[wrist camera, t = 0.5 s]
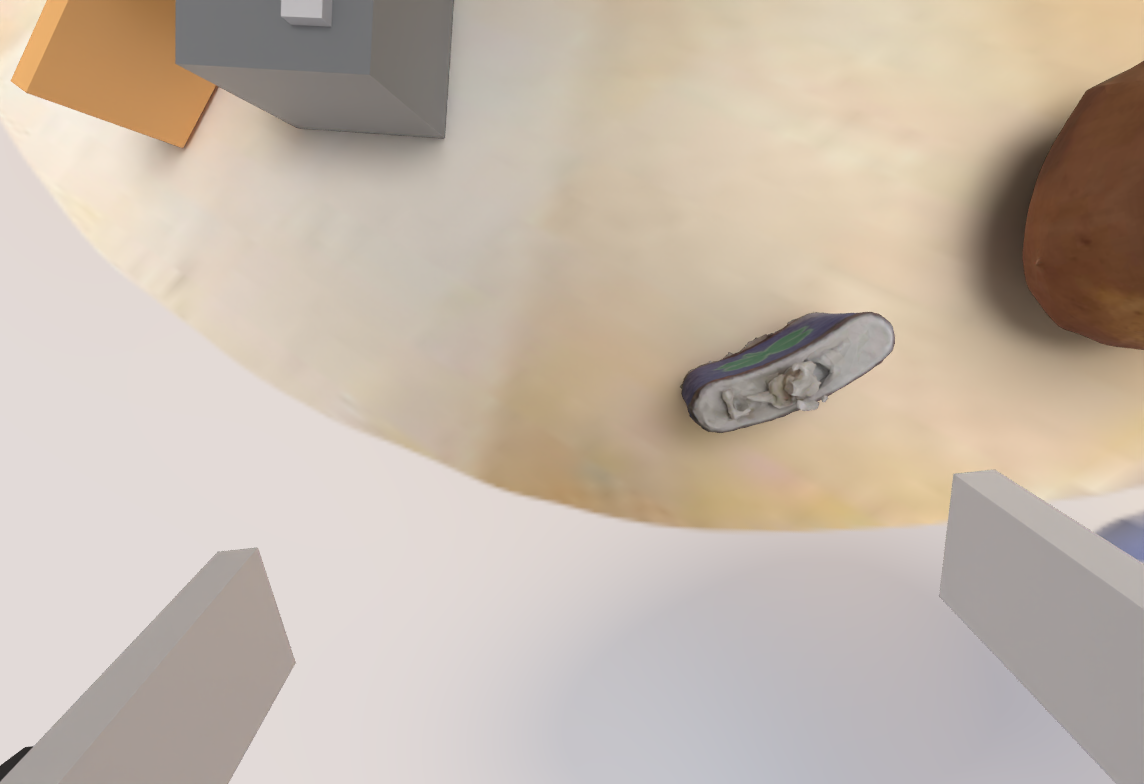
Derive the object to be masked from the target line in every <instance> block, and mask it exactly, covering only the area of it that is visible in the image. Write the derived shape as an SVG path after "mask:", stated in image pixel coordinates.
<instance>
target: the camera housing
mask: <svg viewBox="0 0 1144 784" xmlns="http://www.w3.org/2000/svg"><path fill="white" fill-rule="evenodd" d="M453 4H454V0H176V21H175V64H177V65H179V66H181V67H182V68H184V69H186V70H188V71H190V72H192V73H194V74H196V75H198V76H200V77H201V78H203V79H205V80H207V81H209V82H211V83H213V84H215V85H217V86H219V87H220V88H222V89H224V90H226V91H228V92H230V93H232V94H234V95H236V96H238V97H239V98H241V99H243V100H245V101H247V102H249V103H251V104H253V105H255V106H257V107H258V108H260V109H262V110H264V111H266V112H268V113H270V114H272V115H274V116H276V117H277V118H279V119H281V120H283V121H285V122H287V123H289V124H291V125H293V126H295V127H296V128H302V129H316V130H331V131H345V132H360V133H374V134H389V135H403V136H418V137H432V138H445V126H446V110H447V95H448V80H449V65H450V49H451V34H452V19H453Z"/></svg>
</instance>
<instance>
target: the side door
mask: <svg viewBox="0 0 1144 784" xmlns="http://www.w3.org/2000/svg"><path fill="white" fill-rule="evenodd" d="M175 21H176V0H47V2H46V4H45V6H44V8H43V10H42V13H41V15H40V17H39V19H38V22H37V24H36V26H35V28H34V30H33V33H32V35H31V37H30V39H29V41H28V44H27V46H26V48H25V50H24V53H23V55H22V57H21V59H20V61H19V64H18V66H17V68H16V70H15V72H14V75H13V77H12V79H11V82H13V83H14V84H15V85H17V86H18V87H19V88H21V89H22V90H23V91H25V92H26V93H29V94H32V95H34V96H37V97H40V98H43V99H46V100H48V101H51V102H54V103H57V104H60V105H63V106H65V107H68V108H71V109H74V110H77V111H80V112H82V113H85V114H88V115H91V116H94V117H96V118H99V119H102V120H105V121H108V122H111V123H113V124H116V125H119V126H122V127H125V128H127V129H130V130H133V131H136V132H139V133H142V134H144V135H147V136H150V137H153V138H156V139H158V140H161V141H164V142H167V143H170V144H173V145H175V146H178V147H181V148H183V147H184V146H185V144H186V142H187V140H188V138H189V136H190V134H191V132H192V130H193V128H194V127H195V125H196V123H197V121H198V119H199V117H200V115H201V113H202V111H203V109H204V107H205V106H206V104H207V102H208V100H209V98H210V96H211V94H212V92H213V90H214V88H215V87H216V85H215V84H213V83H211V82H209V81H207V80H205V79H203V78H201V77H200V76H198V75H196V74H194V73H192V72H190V71H188V70H186V69H184V68H182V67H181V66H179V65H177V64H175Z"/></svg>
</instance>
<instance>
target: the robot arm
mask: <svg viewBox="0 0 1144 784" xmlns="http://www.w3.org/2000/svg"><path fill="white" fill-rule="evenodd" d="M939 597H940V598H941V599H942V600H943V601H944V602H945V603H946V604H947V605H948V606H949V607H950V608H951V609H952V610H953V611H954V613H955V614H956V615H957V616H958V617H959V618H960V619H961V620H962V621H963V622H964V623H965V624H966V625H967V626H968V627H969V629H970V630H971V631H972V632H973V633H974V634H975V635H976V636H977V637H978V638H979V639H980V640H981V641H982V642H983V643H984V644H985V645H986V646H987V648H988V649H989V650H990V651H991V652H992V653H993V654H994V655H995V656H996V657H997V658H998V659H999V660H1000V661H1001V662H1002V663H1003V664H1004V666H1005V667H1006V668H1007V669H1008V670H1009V671H1010V672H1011V673H1012V674H1013V675H1014V676H1015V677H1016V678H1017V679H1018V680H1019V681H1020V682H1021V684H1022V685H1023V686H1024V687H1025V688H1026V689H1027V690H1028V691H1029V692H1030V693H1031V694H1032V695H1033V696H1034V697H1035V698H1036V699H1037V701H1038V702H1039V703H1040V704H1041V705H1042V706H1043V707H1044V708H1045V709H1046V710H1047V711H1048V712H1049V713H1050V714H1051V715H1052V716H1053V718H1054V719H1055V720H1057V722H1058V723H1059V724H1060V725H1061V726H1062V727H1063V728H1064V729H1065V730H1066V731H1067V732H1068V733H1069V734H1070V735H1071V737H1072V738H1073V739H1074V740H1075V741H1077V743H1078V744H1079V745H1080V746H1081V747H1082V748H1083V749H1084V750H1085V751H1086V752H1087V754H1088V755H1089V756H1090V757H1091V758H1092V759H1093V760H1094V761H1095V762H1096V763H1097V764H1098V765H1099V766H1100V767H1101V768H1102V769H1103V770H1104V771H1105V773H1106V774H1107V775H1108V776H1109V777H1110V778H1111V779H1112V780H1113V781H1114V782H1115V783H1116V784H1144V564H1143V563H1141V562H1140V561H1138V560H1137V559H1135V558H1133V557H1132V556H1130V555H1129V554H1127V553H1126V552H1124V551H1122V550H1121V549H1119V548H1118V547H1116V546H1115V545H1113V544H1111V543H1110V542H1108V541H1107V540H1105V539H1103V538H1102V537H1100V536H1099V535H1097V534H1096V533H1094V532H1092V531H1091V530H1089V529H1088V528H1086V527H1085V526H1083V525H1081V524H1079V523H1078V522H1077V521H1075V520H1074V519H1072V518H1070V517H1069V516H1067V515H1066V514H1064V513H1062V512H1061V511H1059V510H1058V509H1056V508H1055V507H1053V506H1051V505H1050V504H1048V503H1047V502H1045V501H1044V500H1042V499H1040V498H1039V497H1037V496H1036V495H1034V494H1032V493H1031V492H1029V491H1028V490H1026V489H1025V488H1023V487H1021V486H1020V485H1018V484H1017V483H1015V482H1014V481H1012V480H1010V479H1009V478H1007V477H1006V476H1004V475H1003V474H1001V473H999V472H998V471H996V470H986V471H977V472H967V473H958V474H953V483H952V491H951V500H950V508H949V517H948V525H947V534H946V542H945V552H944V560H943V568H942V577H941V585H940V594H939ZM294 665H295V659H294V657H293V653H292V650H291V647H290V644H289V641H288V638H287V635H286V632H285V629H284V626H283V623H282V620H281V617H280V614H279V611H278V607H277V604H276V601H275V598H274V595H273V592H272V589H271V586H270V583H269V580H268V577H267V574H266V571H265V568H264V565H263V562H262V559H261V556H260V553H259V550H258V548H250V549H240V550H230V551H221V552H217V554H215V555H214V557H213V558H212V559H211V560H210V561H209V562H208V563H207V564H206V565H205V566H204V567H203V568H202V569H201V570H200V571H199V572H198V573H197V575H196V576H195V577H194V578H193V579H192V580H191V581H190V582H189V583H188V584H187V585H186V586H185V587H184V588H183V589H182V590H181V591H180V592H179V593H178V594H177V596H176V597H175V598H174V599H173V600H172V601H171V602H170V603H169V604H168V605H167V606H166V607H165V608H164V609H163V610H162V611H161V613H160V614H159V615H158V616H157V617H156V618H155V619H154V620H153V621H152V622H151V623H150V624H149V625H148V626H147V627H146V628H145V629H144V631H142V633H141V634H140V635H139V636H138V637H137V638H136V639H135V640H134V641H133V642H132V643H131V644H130V645H129V646H128V647H127V648H126V649H125V651H124V652H123V653H122V654H121V655H120V656H119V657H118V658H117V659H116V660H115V661H114V662H113V663H112V664H111V665H110V666H109V667H108V668H107V669H106V671H105V672H104V673H103V674H102V675H101V676H100V677H99V678H98V679H97V680H96V681H95V682H94V683H93V684H92V685H91V686H90V687H89V688H88V690H87V691H86V692H85V693H84V694H83V695H82V696H81V697H80V698H79V699H78V700H77V701H76V702H75V703H74V704H73V705H72V706H71V707H70V709H69V710H68V711H67V712H66V713H65V714H64V715H63V716H62V717H61V718H60V719H59V720H58V721H57V722H56V723H55V724H54V725H53V726H52V728H51V729H50V730H49V731H48V732H47V733H46V734H45V735H44V736H43V737H42V738H41V739H40V740H39V741H38V742H37V743H36V744H35V745H34V746H32V747H25V748H23V749H22V750H21V751H19V752H18V753H17V754H15V755H14V756H13V757H11V758H10V759H9V760H7V761H6V762H4V763H3V764H2V765H1V766H0V784H228V783H229V781H230V779H231V778H232V776H233V774H234V772H235V770H236V769H237V767H238V765H239V763H240V761H241V760H242V758H243V756H244V754H245V752H246V751H247V749H248V747H249V745H250V744H251V742H252V740H253V738H254V736H255V735H256V733H257V731H258V729H259V728H260V726H261V724H262V722H263V720H264V718H265V717H266V715H267V713H268V711H269V710H270V708H271V706H272V704H273V702H274V701H275V699H276V697H277V695H278V694H279V692H280V690H281V688H282V686H283V685H284V683H285V681H286V679H287V677H288V676H289V674H290V672H291V670H292V668H293V666H294Z"/></svg>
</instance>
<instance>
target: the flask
mask: <svg viewBox="0 0 1144 784" xmlns="http://www.w3.org/2000/svg"><path fill="white" fill-rule="evenodd" d="M894 344H895V335H894V331H893V326H892V325H891V323H890V322H889V321H888V320H886V319H885V318H884V317H882V316H881V315H879V314H877V313H873V312H862V313H846V314H828V313H817V312H815V313H811V314H807V315H805V316H803V317H801V318H799V319H795V320H792V321H791V322H788V325H787V326H786V327H784V328H783V329H781V330H779V331H776V332H775V333H771V334H770V335H763V336H762V337H760V338H755V339H754V340H753V341H751V342H748V344H747V345H745V346H746V347H744V348H743V349H742V350H741V351H740V352H738V353H735V354H732V353H730V352H729V353H728V355H726V357H724V358H723V359H722V360H720V361H716V362H711V361H709V363H707V364H704V365H701V366H699V367H697V368H695V369H692V370H690V371H689V372H688V374H687V375H686V377H685V379H684V381H683V384H682V385H681V386H680V387H681V388H682V397H683V399H684V400H685V402H686V405H687V408H688V412H689V414H690V417H691V418H692V419H693V420H694V421H695V422H696V423H697V424H698V425H700V426H701V427H702V428H703V429H704V430H706V431H708V432H717V433H723V432H729V431H734V430H737V429H740V428H746V427H749V426H752V425H755V424H759V423H763V422H767V421H772V420H774V419H776V418H780V417H784V416H786V415H788V414H790V413H792V412H794V411H798V410H802V411H810V410H815V409H817V408H818V406H819V402H817V401H819V400H822V402H825V401H826V400H827V399H828V396H829V395H830V394H832V393H834V392H835V391H837V390H839V389H841V388H843V387H844V386H846V385H848V384H849V383H851V382H852V381H854V380H856V379H858V378H859V377H861V376H862V375H864V374H866V373H867V372H869V371H870V370H871V369H873V368H874V367H875V366H877V365H879V364H880V363H882V361H883V360H884V359H885V358H886V357H887V356H888V355H889V354H890V353H891V352H892V350H893V347H894Z"/></svg>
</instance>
